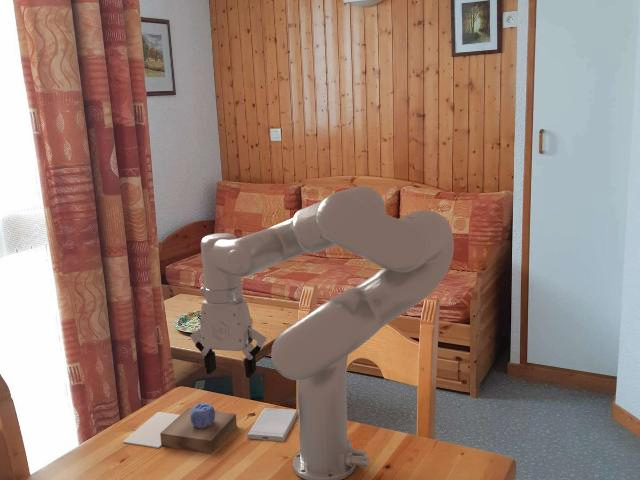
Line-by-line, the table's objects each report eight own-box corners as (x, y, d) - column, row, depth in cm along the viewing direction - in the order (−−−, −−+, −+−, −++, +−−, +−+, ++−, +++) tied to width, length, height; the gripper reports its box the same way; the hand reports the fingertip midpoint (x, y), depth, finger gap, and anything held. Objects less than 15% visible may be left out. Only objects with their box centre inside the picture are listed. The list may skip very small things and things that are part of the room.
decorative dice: (199, 418, 142) (198, 402, 141) (215, 420, 141) (214, 403, 140) (191, 427, 138) (189, 410, 137) (207, 429, 137) (206, 412, 136)
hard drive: (263, 407, 150) (247, 433, 139) (297, 409, 149) (283, 436, 137) (264, 414, 151) (247, 440, 139) (297, 416, 149) (283, 443, 137)
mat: (191, 417, 149) (191, 416, 149) (158, 448, 136) (158, 447, 136) (158, 412, 152) (157, 411, 152) (122, 442, 139) (122, 441, 139)
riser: (236, 426, 144) (235, 413, 144) (211, 453, 133) (210, 440, 132) (189, 419, 148) (188, 407, 147) (161, 446, 137) (160, 433, 136)
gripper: (177, 297, 130) (185, 377, 134) (255, 301, 125) (262, 384, 128) (195, 287, 137) (202, 363, 141) (270, 290, 132) (276, 369, 135)
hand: (230, 373), depth 134 cm, fingers open, 8 cm apart
